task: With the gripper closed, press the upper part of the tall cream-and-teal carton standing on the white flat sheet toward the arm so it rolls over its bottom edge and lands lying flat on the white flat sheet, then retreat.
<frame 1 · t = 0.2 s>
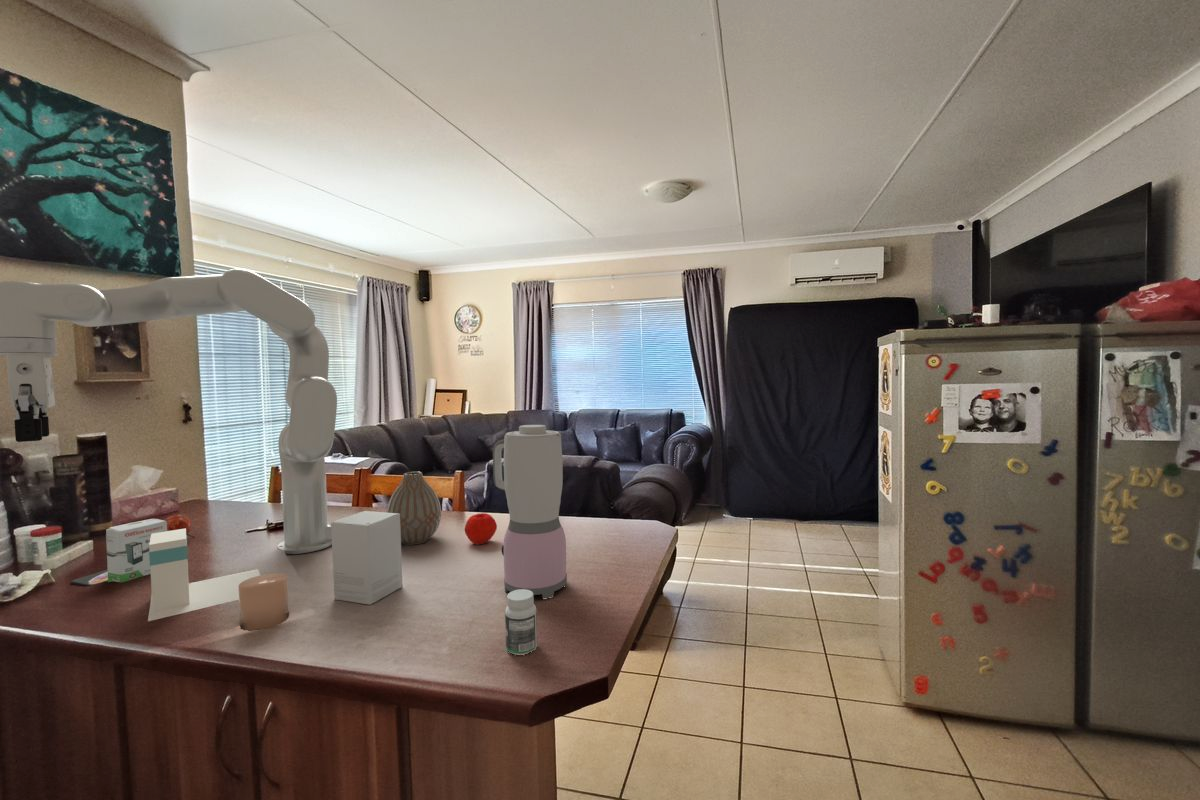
hand: (33, 438, 96), 31 cm above the worktop, fingers open, 9 cm apart
carton: (171, 600, 93), point 1 cm above the worktop, touching white flat sheet
pomegranate: (176, 542, 131), on the worktop
ink box: (139, 580, 107), on the worktop
apple: (481, 543, 127), on the worktop
vase: (414, 541, 130), on the worktop
pill bottle: (521, 649, 77), on the worktop
smartphone: (123, 574, 111), on the worktop
beige pillar candle: (265, 620, 87), on the worktop
blender: (529, 587, 100), on the worktop
white flat sheet: (209, 598, 97), on the worktop
supplement box: (369, 594, 98), on the worktop
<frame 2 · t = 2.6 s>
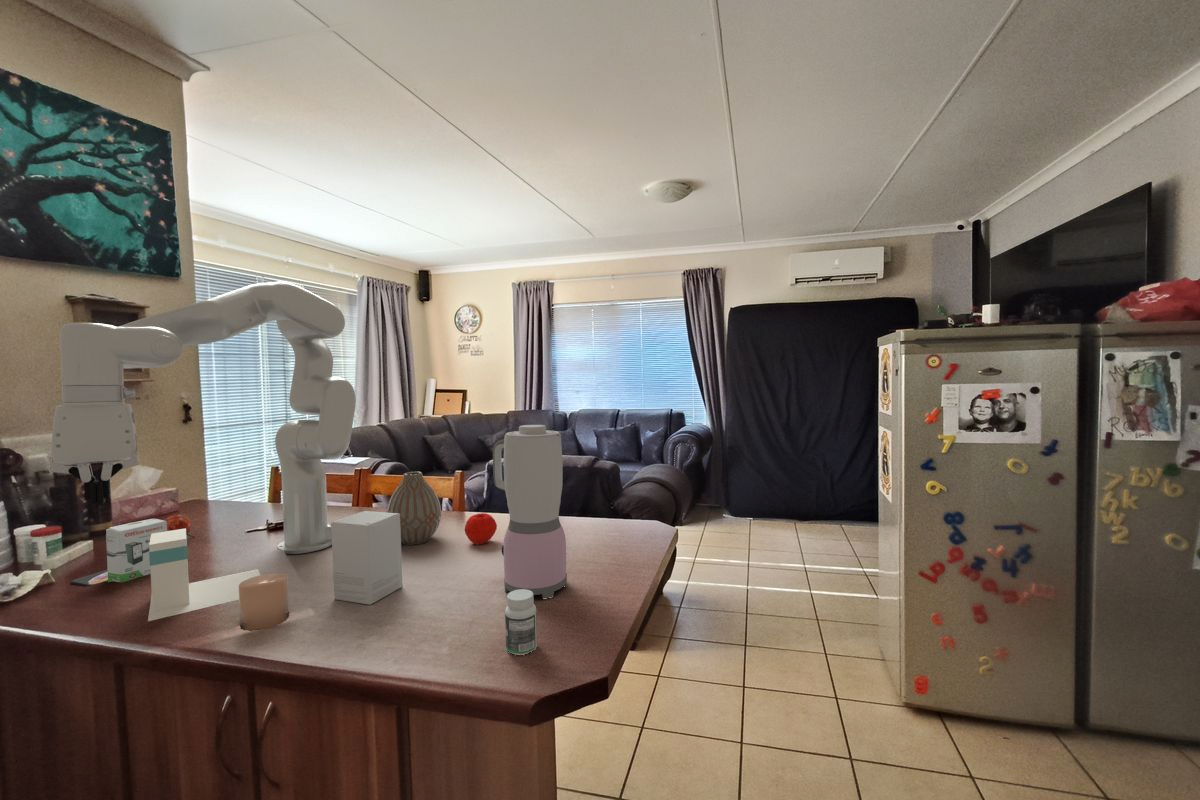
hand: (98, 503, 87), 21 cm above the worktop, fingers closed
nothing on the worktop moved.
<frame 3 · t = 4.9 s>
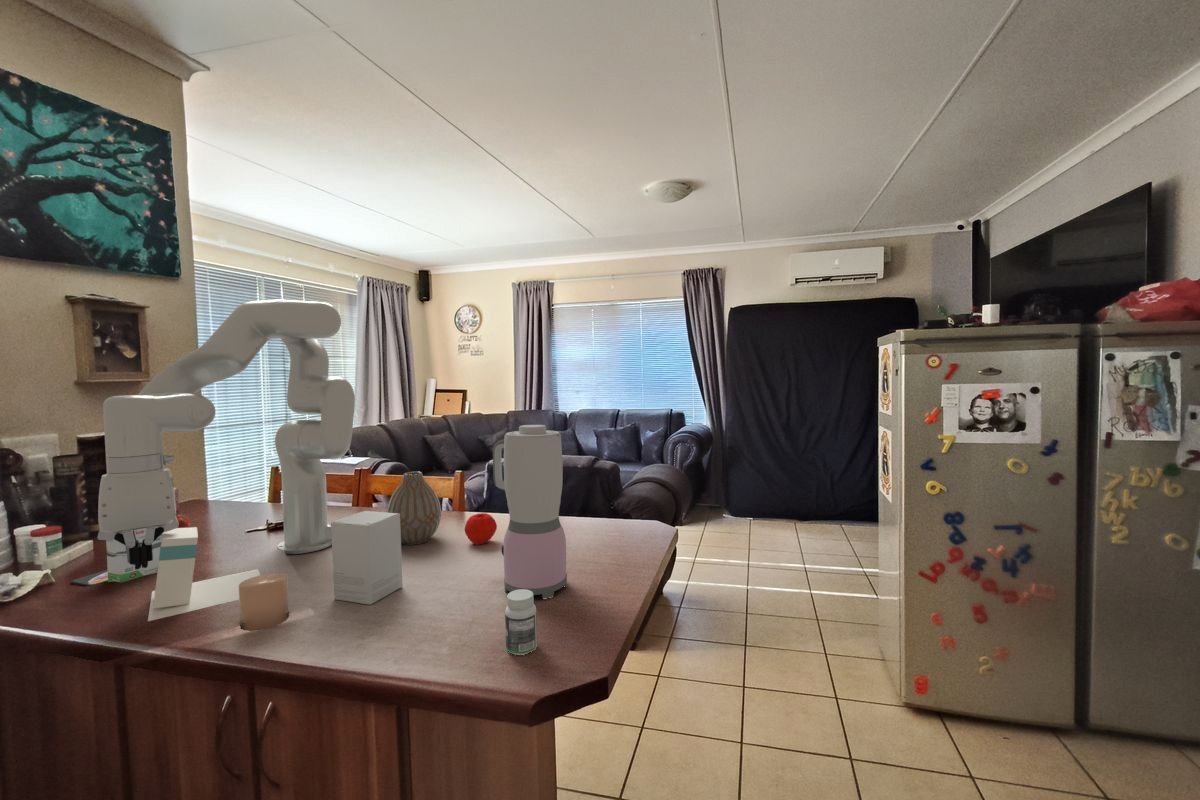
hand: (141, 566, 91), 9 cm above the worktop, fingers closed
carton: (171, 598, 93), point 2 cm above the worktop, tilted 8°, touching white flat sheet
everything else where it was.
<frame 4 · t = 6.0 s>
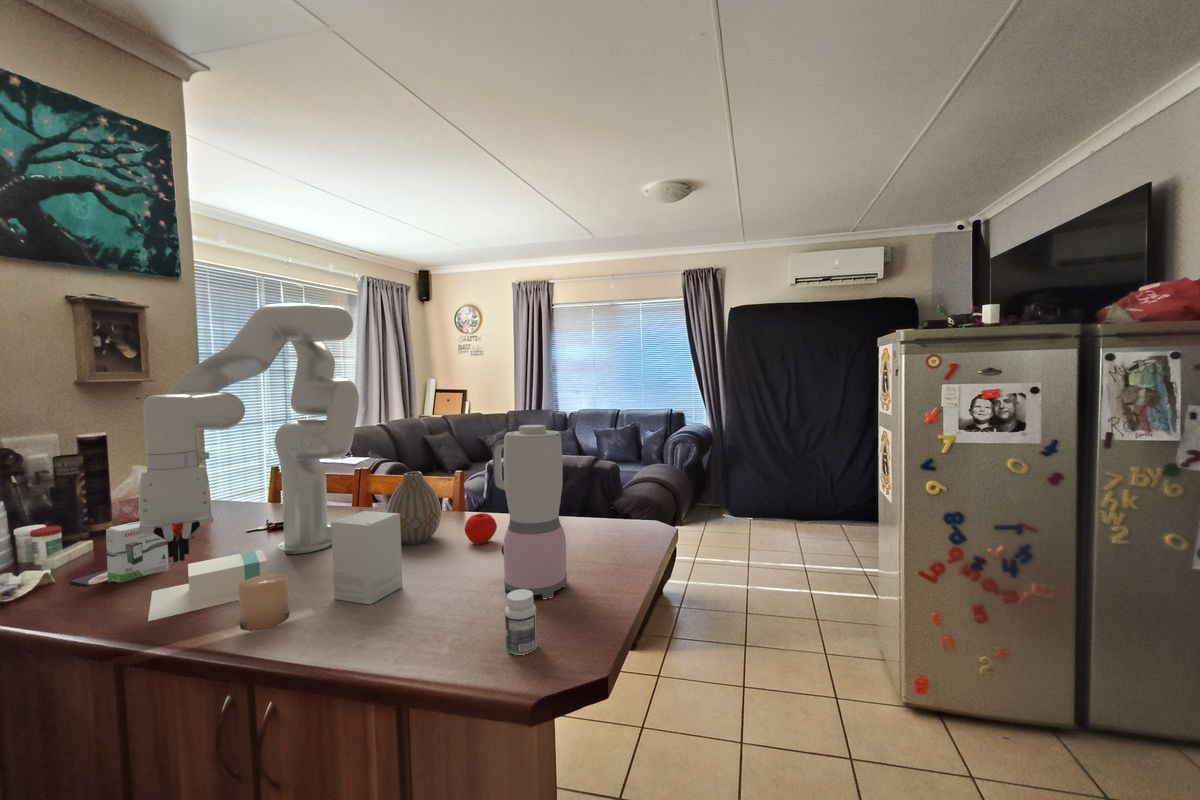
hand: (179, 559, 94), 9 cm above the worktop, fingers closed
carton: (188, 583, 95), point 4 cm above the worktop, tilted 90°, touching white flat sheet
everything else where it was.
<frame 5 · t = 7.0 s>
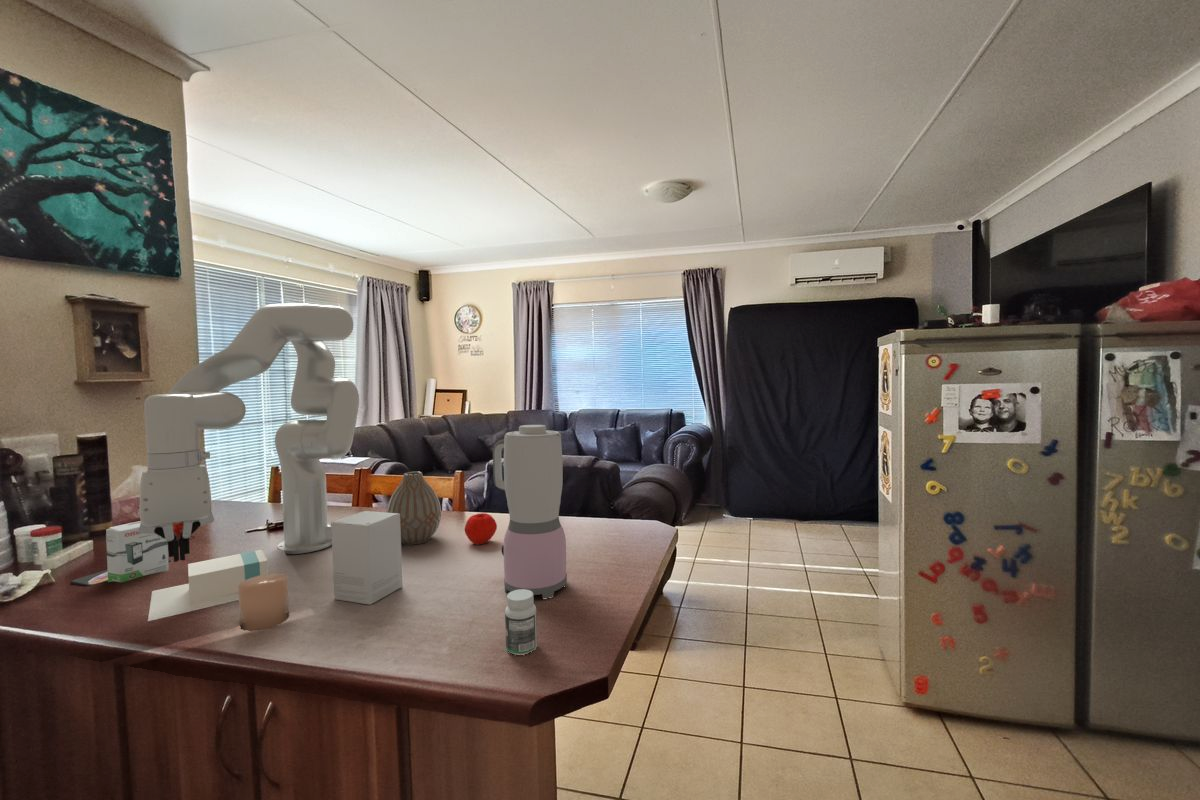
hand: (179, 558, 94), 9 cm above the worktop, fingers closed
nothing on the worktop moved.
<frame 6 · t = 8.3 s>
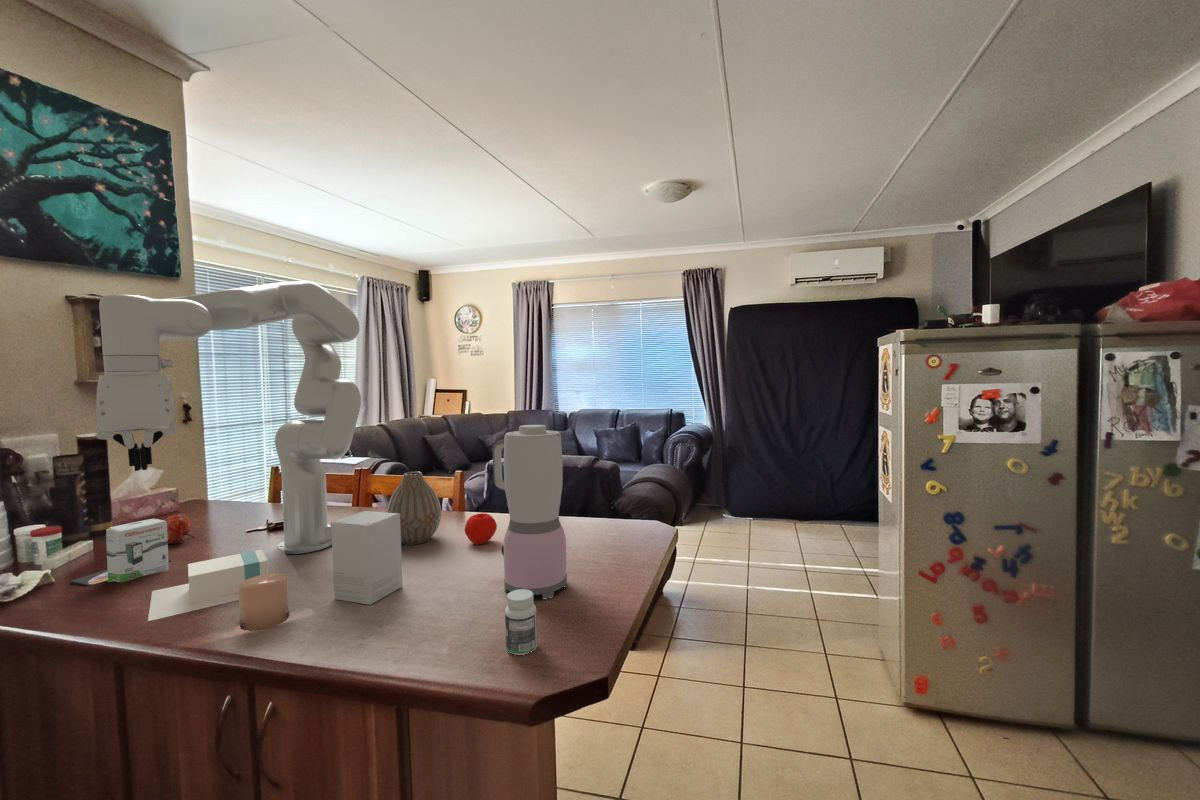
hand: (141, 469, 90), 26 cm above the worktop, fingers closed
nothing on the worktop moved.
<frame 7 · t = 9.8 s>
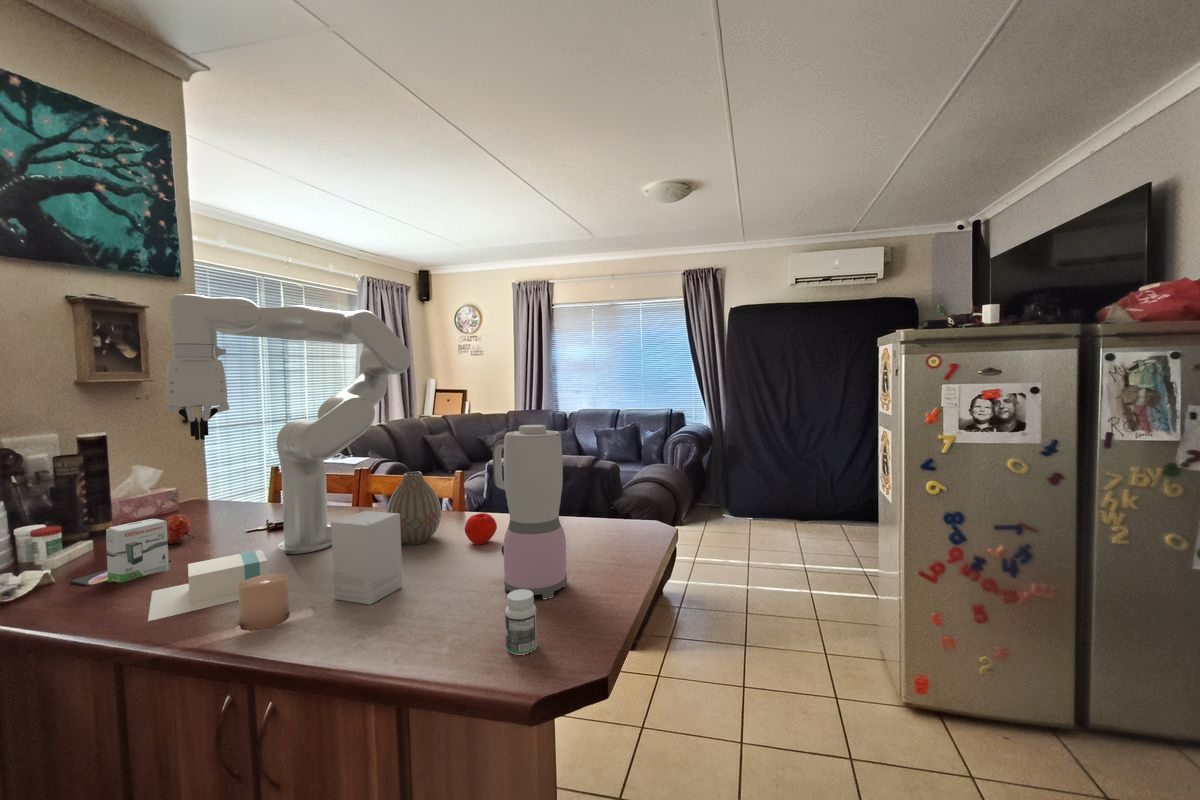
hand: (199, 439, 109), 29 cm above the worktop, fingers closed
nothing on the worktop moved.
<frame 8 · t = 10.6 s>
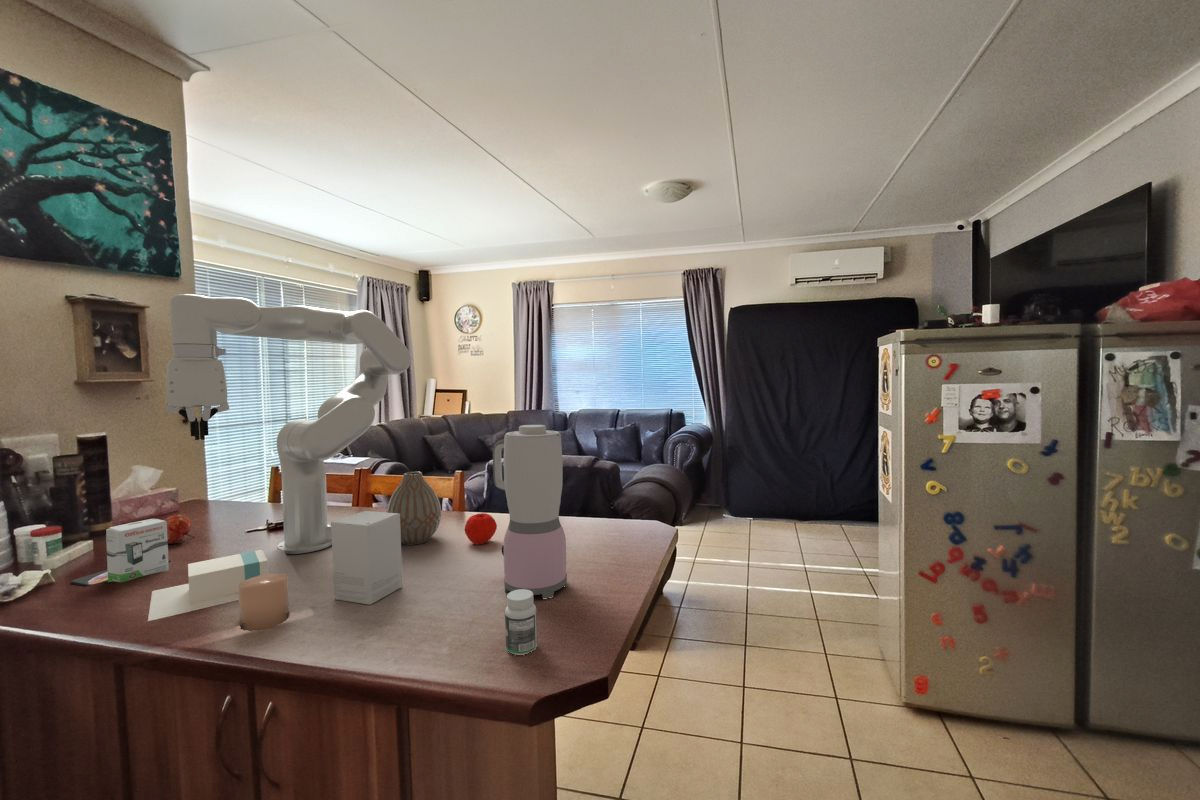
hand: (199, 439, 109), 29 cm above the worktop, fingers closed
nothing on the worktop moved.
at the end: carton tilted 90°; carton inside the target area (0.1 cm from its centre), point 3.7 cm above the worktop; carton touching white flat sheet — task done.
